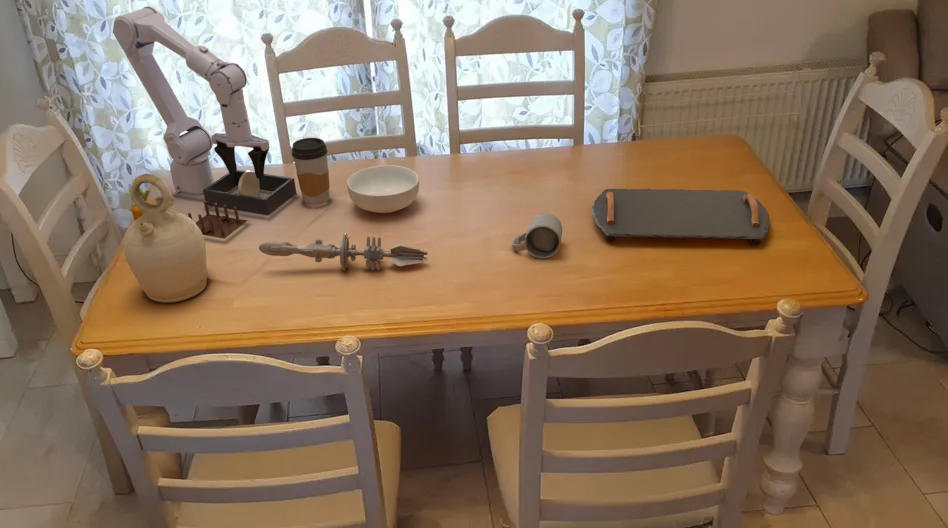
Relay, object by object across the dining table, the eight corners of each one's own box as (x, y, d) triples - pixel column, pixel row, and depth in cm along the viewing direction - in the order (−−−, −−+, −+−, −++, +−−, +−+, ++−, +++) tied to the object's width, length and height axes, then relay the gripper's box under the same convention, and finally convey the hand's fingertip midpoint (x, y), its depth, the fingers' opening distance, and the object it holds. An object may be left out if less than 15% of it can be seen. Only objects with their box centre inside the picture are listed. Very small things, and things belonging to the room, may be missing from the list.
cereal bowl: (337, 216, 199) (333, 188, 195) (370, 187, 211) (367, 161, 207) (402, 227, 193) (399, 198, 189) (432, 196, 206) (430, 169, 202)
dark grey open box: (207, 209, 204) (202, 190, 201) (237, 188, 214) (233, 169, 211) (269, 219, 199) (265, 199, 196) (297, 197, 208) (294, 178, 205)
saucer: (242, 208, 203) (235, 179, 199) (259, 193, 209) (253, 165, 204) (245, 208, 203) (238, 179, 198) (262, 194, 208) (256, 165, 204)
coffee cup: (337, 195, 208) (330, 136, 200) (330, 210, 202) (321, 150, 193) (304, 194, 209) (295, 136, 201) (295, 209, 202) (285, 150, 194)
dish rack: (184, 235, 193) (179, 215, 190) (208, 218, 200) (203, 198, 197) (225, 243, 190) (220, 222, 187) (248, 225, 197) (244, 204, 194)
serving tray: (592, 246, 183) (593, 220, 179) (590, 198, 202) (592, 174, 198) (776, 249, 179) (781, 223, 176) (757, 201, 198) (761, 176, 194)
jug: (170, 263, 183) (139, 155, 169) (229, 275, 178) (203, 164, 164) (121, 299, 172) (84, 186, 157) (183, 313, 166) (151, 197, 152)
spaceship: (262, 226, 178) (254, 230, 171) (428, 235, 181) (428, 239, 173) (262, 264, 180) (254, 269, 172) (426, 272, 182) (426, 277, 175)
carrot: (171, 246, 189) (154, 184, 181) (155, 256, 186) (138, 194, 177) (154, 242, 191) (136, 181, 183) (138, 252, 188) (120, 190, 179)
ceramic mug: (562, 241, 185) (563, 209, 181) (560, 259, 179) (560, 227, 174) (514, 239, 187) (513, 208, 182) (510, 258, 180) (509, 225, 176)
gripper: (199, 122, 193) (211, 177, 201) (252, 129, 189) (263, 185, 196) (217, 111, 199) (228, 165, 206) (270, 118, 194) (279, 173, 202)
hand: (246, 174), depth 202 cm, fingers open, 7 cm apart
